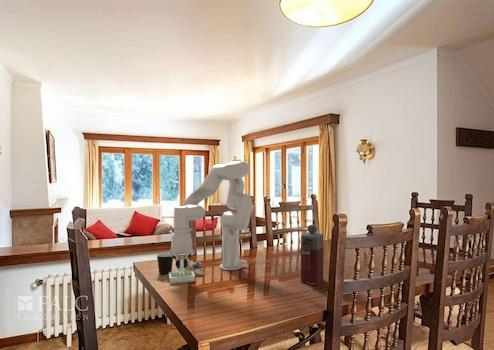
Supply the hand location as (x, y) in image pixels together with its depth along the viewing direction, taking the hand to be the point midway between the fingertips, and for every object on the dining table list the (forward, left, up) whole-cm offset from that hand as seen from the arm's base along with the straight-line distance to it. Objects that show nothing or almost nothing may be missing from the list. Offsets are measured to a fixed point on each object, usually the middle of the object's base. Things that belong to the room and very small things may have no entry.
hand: (181, 267), depth 167 cm
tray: (0, 0, -6) cm, 6 cm away
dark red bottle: (-61, +21, -6) cm, 65 cm away
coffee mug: (+6, -15, -6) cm, 18 cm away
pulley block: (-6, -9, -6) cm, 13 cm away
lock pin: (0, 0, -5) cm, 5 cm away
